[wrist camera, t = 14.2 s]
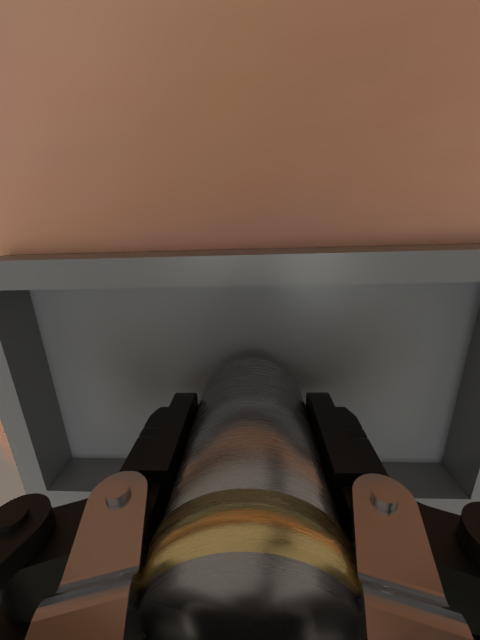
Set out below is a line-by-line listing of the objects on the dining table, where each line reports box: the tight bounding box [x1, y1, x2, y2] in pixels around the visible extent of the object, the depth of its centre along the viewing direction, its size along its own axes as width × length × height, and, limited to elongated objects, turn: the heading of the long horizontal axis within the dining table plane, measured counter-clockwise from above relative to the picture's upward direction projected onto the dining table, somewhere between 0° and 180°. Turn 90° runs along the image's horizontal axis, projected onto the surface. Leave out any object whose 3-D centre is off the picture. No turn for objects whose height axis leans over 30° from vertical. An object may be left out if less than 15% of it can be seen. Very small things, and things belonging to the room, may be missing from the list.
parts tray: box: [0, 243, 480, 515], centre depth 12 cm, size 11×20×2 cm, turn 91°
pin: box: [138, 358, 359, 640], centre depth 8 cm, size 4×4×7 cm
